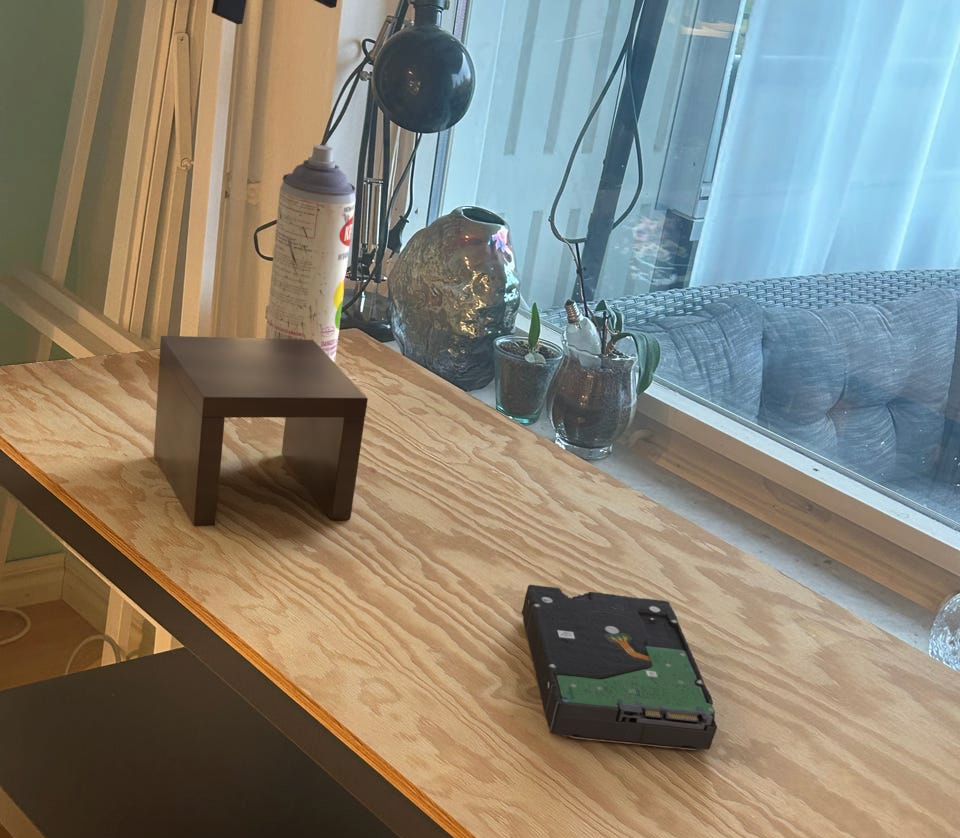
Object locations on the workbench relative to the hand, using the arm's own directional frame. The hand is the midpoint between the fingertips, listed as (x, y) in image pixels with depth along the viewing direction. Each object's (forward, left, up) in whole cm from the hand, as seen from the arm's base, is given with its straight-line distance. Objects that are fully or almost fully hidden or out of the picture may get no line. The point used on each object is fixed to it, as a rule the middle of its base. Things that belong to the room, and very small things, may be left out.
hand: (271, 10), depth 110 cm
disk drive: (+57, +8, -31) cm, 65 cm away
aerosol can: (0, +6, -31) cm, 31 cm away
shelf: (+27, -7, -30) cm, 41 cm away
